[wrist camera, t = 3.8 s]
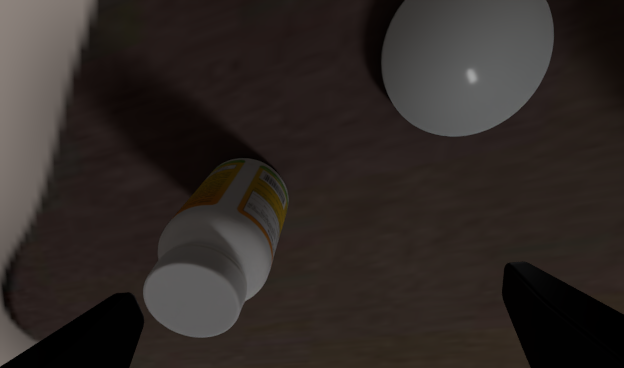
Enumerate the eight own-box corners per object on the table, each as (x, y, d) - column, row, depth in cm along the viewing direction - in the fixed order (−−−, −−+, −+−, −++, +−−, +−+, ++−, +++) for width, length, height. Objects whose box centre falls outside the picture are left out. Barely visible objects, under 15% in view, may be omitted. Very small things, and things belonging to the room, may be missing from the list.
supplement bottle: (201, 217, 24) (120, 331, 15) (214, 145, 22) (127, 230, 13) (278, 239, 24) (242, 364, 16) (299, 170, 22) (270, 270, 13)
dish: (547, 102, 19) (561, 107, 18) (401, 147, 21) (404, 155, 20) (529, -65, 16) (544, -71, 15) (360, 4, 18) (361, 3, 17)
